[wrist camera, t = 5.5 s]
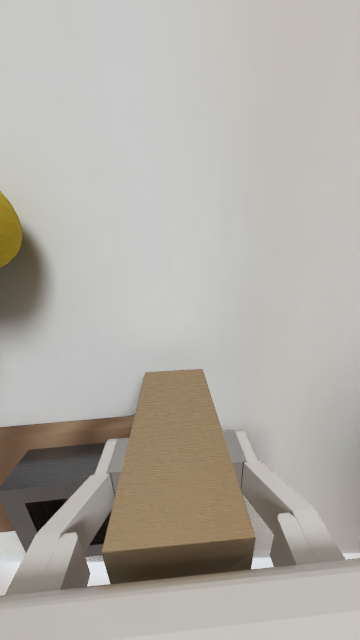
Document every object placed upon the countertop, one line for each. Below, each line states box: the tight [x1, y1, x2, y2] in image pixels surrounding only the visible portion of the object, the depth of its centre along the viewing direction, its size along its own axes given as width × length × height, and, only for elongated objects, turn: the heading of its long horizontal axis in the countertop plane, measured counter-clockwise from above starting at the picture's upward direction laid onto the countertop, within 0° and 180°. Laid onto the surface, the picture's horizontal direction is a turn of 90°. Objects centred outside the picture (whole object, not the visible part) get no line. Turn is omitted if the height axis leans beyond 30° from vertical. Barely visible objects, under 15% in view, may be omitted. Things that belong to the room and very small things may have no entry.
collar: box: [0, 443, 112, 557], centre depth 15 cm, size 9×9×3 cm
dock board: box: [0, 416, 135, 532], centre depth 17 cm, size 22×12×1 cm, turn 92°
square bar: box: [102, 369, 255, 584], centre depth 9 cm, size 4×4×8 cm
